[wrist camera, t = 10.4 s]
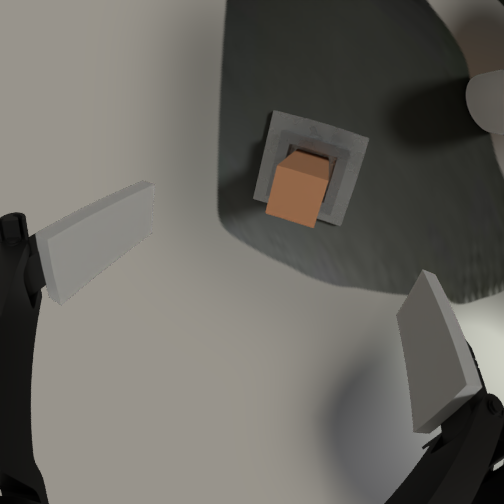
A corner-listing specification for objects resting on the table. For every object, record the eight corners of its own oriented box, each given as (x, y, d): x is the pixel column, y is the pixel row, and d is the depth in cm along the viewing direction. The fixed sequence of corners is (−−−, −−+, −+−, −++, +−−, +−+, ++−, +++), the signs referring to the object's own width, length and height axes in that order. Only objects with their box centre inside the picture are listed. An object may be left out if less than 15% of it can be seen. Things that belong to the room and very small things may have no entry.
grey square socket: (274, 110, 32) (267, 109, 28) (368, 138, 30) (373, 140, 27) (254, 197, 38) (245, 206, 34) (340, 224, 36) (341, 236, 32)
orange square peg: (297, 148, 33) (277, 165, 21) (328, 158, 32) (328, 180, 20) (289, 178, 35) (265, 213, 23) (320, 188, 34) (313, 228, 22)
